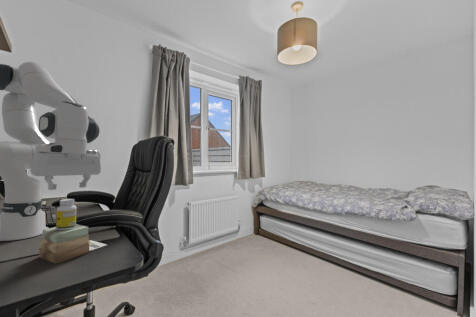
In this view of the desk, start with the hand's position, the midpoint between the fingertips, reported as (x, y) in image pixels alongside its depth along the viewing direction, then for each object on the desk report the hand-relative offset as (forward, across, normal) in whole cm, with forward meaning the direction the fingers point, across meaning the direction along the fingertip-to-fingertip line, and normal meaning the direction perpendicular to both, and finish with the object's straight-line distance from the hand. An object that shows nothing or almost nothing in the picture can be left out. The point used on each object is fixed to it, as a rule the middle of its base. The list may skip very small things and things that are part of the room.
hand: (68, 188), depth 76 cm
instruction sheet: (+23, -9, 0) cm, 24 cm away
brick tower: (+23, 0, +1) cm, 23 cm away
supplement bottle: (+14, 0, 0) cm, 14 cm away
